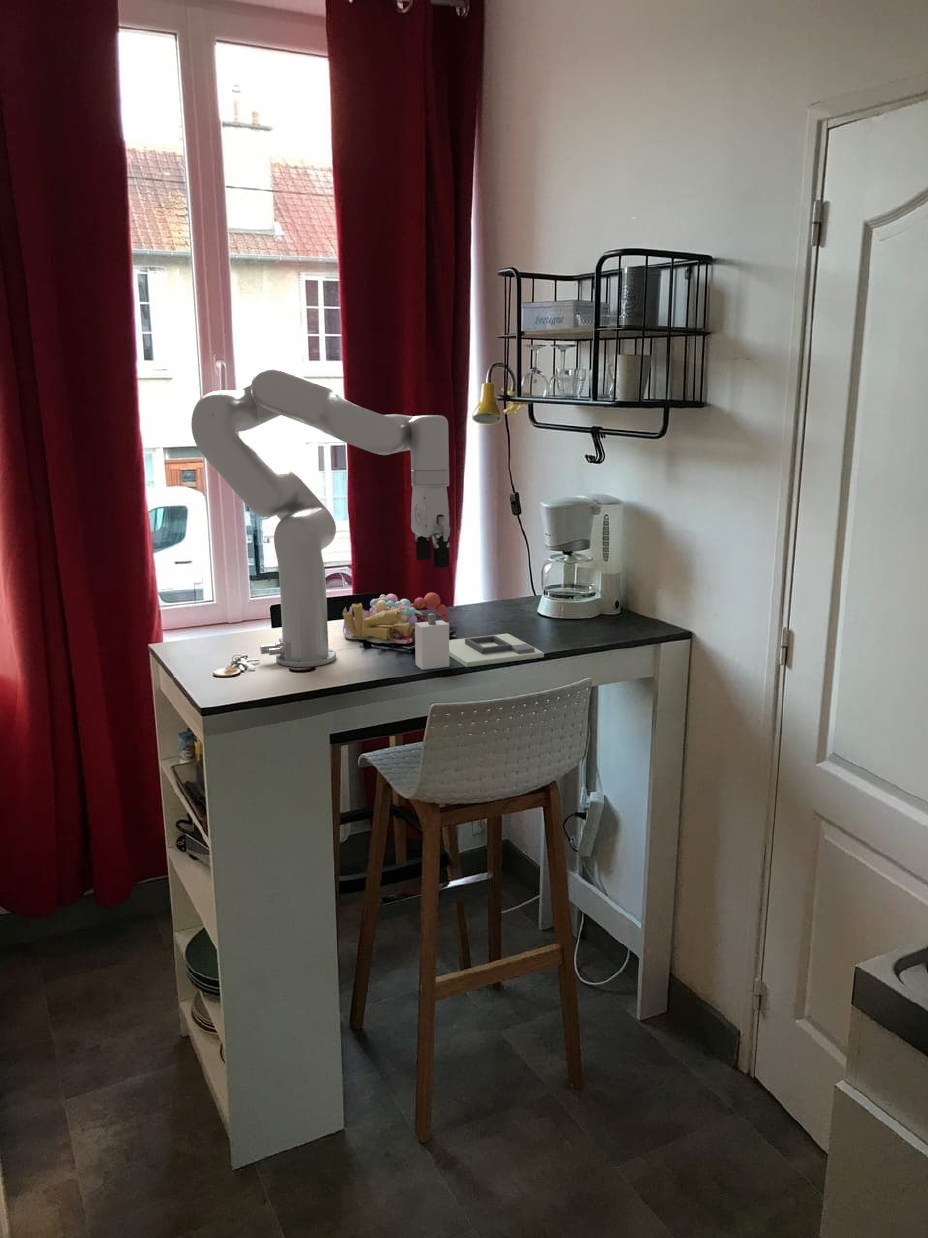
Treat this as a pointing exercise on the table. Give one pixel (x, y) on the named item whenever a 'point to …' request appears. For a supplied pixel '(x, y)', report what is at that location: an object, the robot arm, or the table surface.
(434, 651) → the plug
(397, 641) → the candy landscape model
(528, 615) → the table surface
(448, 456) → the robot arm
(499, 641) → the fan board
